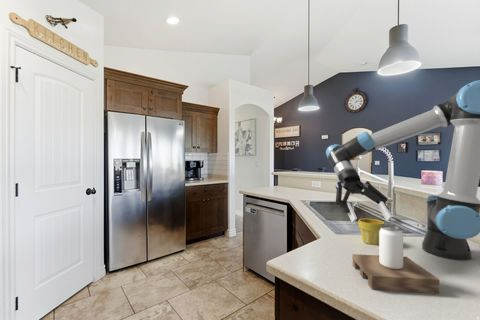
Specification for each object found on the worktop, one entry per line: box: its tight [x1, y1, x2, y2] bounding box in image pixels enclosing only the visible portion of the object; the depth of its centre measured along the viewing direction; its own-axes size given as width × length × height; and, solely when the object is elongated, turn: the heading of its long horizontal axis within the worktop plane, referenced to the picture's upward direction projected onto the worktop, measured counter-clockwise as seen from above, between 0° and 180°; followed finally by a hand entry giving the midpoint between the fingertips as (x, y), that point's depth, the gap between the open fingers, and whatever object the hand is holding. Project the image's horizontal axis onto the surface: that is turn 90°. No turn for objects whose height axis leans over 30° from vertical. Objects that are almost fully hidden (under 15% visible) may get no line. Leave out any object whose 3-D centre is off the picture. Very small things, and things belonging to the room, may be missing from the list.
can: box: [378, 224, 404, 269], centre depth 76 cm, size 6×6×12 cm
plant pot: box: [358, 218, 385, 246], centre depth 108 cm, size 10×10×10 cm
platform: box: [352, 253, 441, 294], centre depth 76 cm, size 18×16×4 cm
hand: (372, 219), depth 83 cm, fingers open, 13 cm apart
